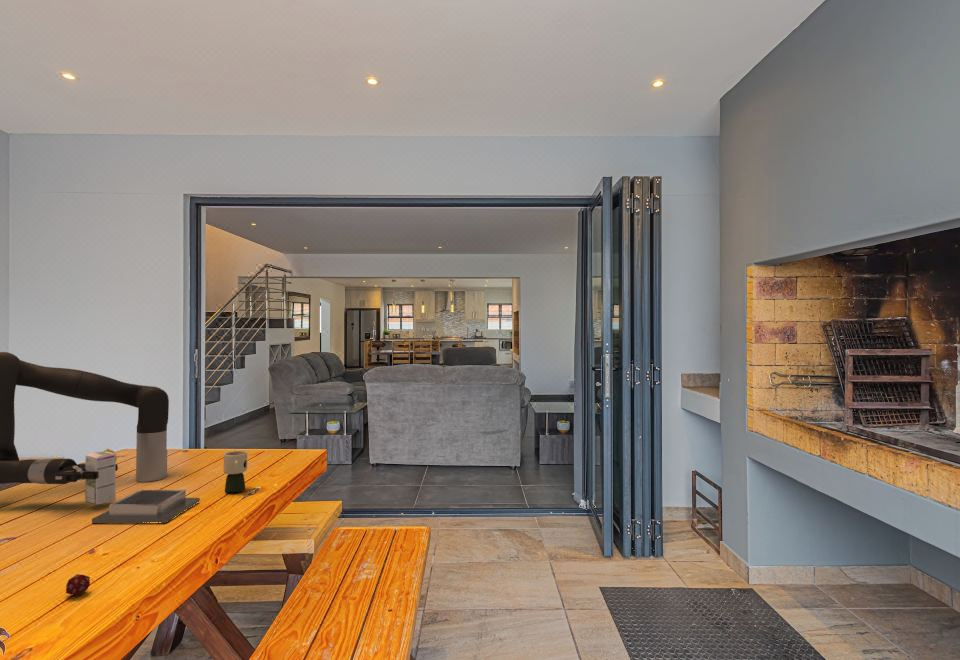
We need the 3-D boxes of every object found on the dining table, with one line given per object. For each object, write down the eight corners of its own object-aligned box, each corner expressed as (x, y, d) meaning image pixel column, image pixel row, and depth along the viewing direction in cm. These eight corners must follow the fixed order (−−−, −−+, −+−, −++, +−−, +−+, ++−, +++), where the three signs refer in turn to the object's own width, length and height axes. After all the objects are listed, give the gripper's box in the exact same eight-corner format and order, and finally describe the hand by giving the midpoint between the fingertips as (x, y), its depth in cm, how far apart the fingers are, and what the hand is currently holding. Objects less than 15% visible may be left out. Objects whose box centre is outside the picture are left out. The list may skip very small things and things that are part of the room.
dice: (72, 590, 104) (73, 570, 104) (95, 589, 104) (96, 570, 104) (59, 600, 100) (59, 579, 100) (83, 599, 100) (83, 579, 100)
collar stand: (134, 502, 157) (135, 488, 157) (199, 502, 158) (199, 488, 158) (91, 524, 139) (92, 507, 139) (165, 524, 140) (165, 507, 140)
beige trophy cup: (248, 494, 166) (248, 455, 166) (224, 498, 162) (224, 457, 163) (245, 485, 175) (245, 448, 176) (222, 488, 172) (223, 450, 172)
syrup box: (116, 499, 155) (117, 452, 155) (95, 505, 149) (95, 456, 149) (105, 496, 157) (106, 450, 157) (83, 502, 152) (84, 454, 152)
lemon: (106, 472, 191) (107, 450, 191) (94, 471, 192) (95, 450, 192) (119, 468, 196) (120, 447, 197) (108, 467, 198) (108, 447, 198)
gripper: (32, 465, 146) (90, 465, 146) (71, 453, 160) (123, 453, 161) (32, 491, 146) (89, 491, 146) (71, 476, 160) (123, 477, 160)
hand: (107, 471), depth 153 cm, fingers closed on syrup box, 7 cm apart
